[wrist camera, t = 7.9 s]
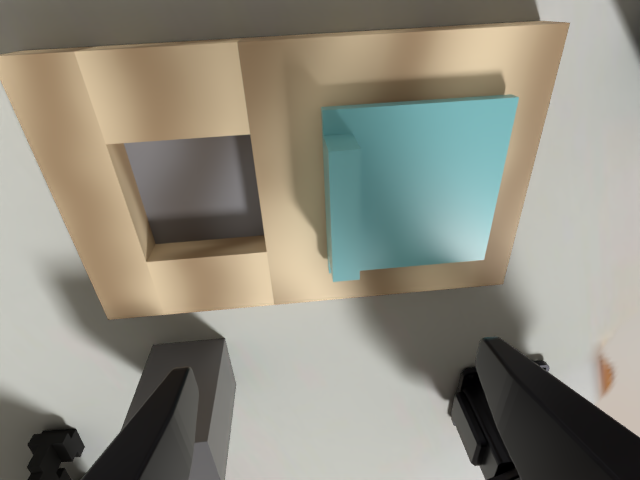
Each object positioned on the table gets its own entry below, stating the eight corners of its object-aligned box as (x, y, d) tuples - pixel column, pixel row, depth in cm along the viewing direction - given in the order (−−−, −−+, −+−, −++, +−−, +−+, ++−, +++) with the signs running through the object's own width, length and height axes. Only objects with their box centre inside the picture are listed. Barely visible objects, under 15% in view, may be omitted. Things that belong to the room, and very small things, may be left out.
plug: (224, 337, 25) (207, 441, 19) (236, 384, 28) (223, 488, 22) (153, 344, 25) (113, 451, 19) (170, 390, 27) (140, 498, 21)
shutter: (511, 94, 16) (547, 108, 14) (479, 253, 20) (502, 283, 18) (321, 107, 16) (327, 124, 14) (327, 266, 20) (333, 299, 18)
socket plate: (541, 20, 17) (569, 22, 15) (487, 263, 24) (502, 284, 22) (21, 51, 16) (-11, 56, 14) (121, 296, 23) (108, 319, 21)
